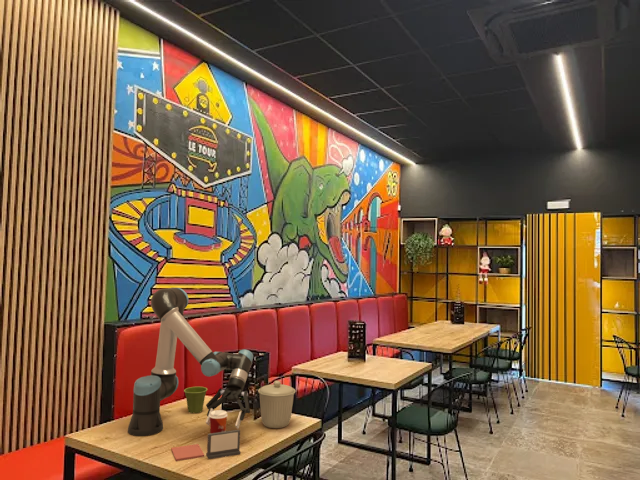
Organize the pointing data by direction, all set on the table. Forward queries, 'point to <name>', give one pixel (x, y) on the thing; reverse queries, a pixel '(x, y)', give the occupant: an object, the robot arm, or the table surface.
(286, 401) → the canister
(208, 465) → the table surface
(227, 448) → the menu holder
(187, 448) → the coaster
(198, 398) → the plant pot
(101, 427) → the table surface
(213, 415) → the paper cup
